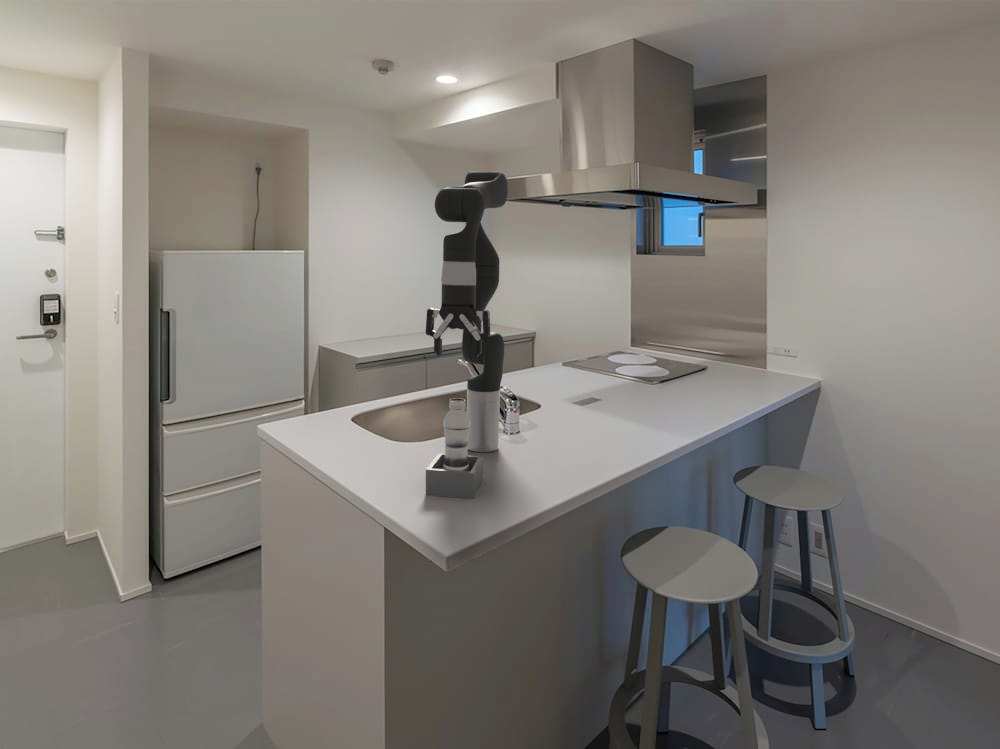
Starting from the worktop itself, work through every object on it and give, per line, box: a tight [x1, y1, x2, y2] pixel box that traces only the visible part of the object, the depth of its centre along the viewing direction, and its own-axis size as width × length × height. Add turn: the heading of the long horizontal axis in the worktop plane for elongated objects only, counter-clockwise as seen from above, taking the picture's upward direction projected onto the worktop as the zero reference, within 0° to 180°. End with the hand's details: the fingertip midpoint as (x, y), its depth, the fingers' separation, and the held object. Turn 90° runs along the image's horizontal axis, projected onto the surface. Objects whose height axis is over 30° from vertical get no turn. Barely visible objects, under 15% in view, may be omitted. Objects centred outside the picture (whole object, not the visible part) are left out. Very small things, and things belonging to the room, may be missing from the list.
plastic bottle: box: [442, 397, 471, 471], centre depth 137 cm, size 6×7×20 cm
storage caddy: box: [425, 452, 484, 500], centre depth 138 cm, size 12×11×6 cm
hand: (457, 355), depth 133 cm, fingers open, 8 cm apart
